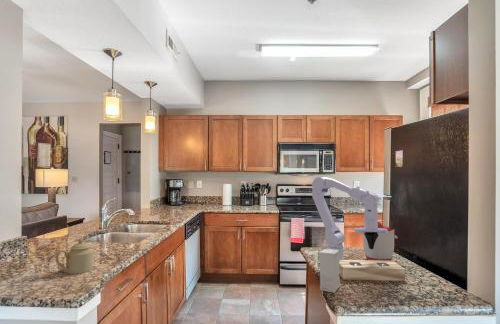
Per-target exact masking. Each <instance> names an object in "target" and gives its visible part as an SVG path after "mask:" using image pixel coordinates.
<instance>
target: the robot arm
mask: <svg viewBox="0 0 500 324" xmlns="http://www.w3.org/2000/svg"><path fill="white" fill-rule="evenodd" d="M311 187H312V191H311V197H312V199H313V200H312V201H314V205H315V206H316V208H317V211H318V214H319V216H320V218H321V221H322V224H323V226H324V228H325V231H324V235H325V242H326V244H327V248H326V249H334V250H339V260H344V245H343V243H344V242H345V240H346V239H345V237H346V236H345V235H344V233H343V232H341V229H340V228H339V226H337V225H336V222H335V220H334V217H333V216H332V213H331V210H330V209H329V205H328V204H327V201H326V199H325V197H324V196H325V194H326V192H327V191H328V190H329V189H331V188H334V189H336V190H339V191H341V192H344V193H347V195H348V196H349V198H351V199H354V200H356V201H357V202H361V203H363V205H364V210H363V211H364V214H363V215H364V219H363V220H364V225H363V226H364V228H362V227H354V233H356V234H363V233H364V235H365V237H366V239H367V242H368V246H369V249H373V248H374V244H375V241H376V239H377V238H378V234H377V233H388V229H383V228H378V222H379V221H378V219H379V218H378V204H379V199H380V198H379V196H378V195H377V194H376V193H375V192H370V190H365V189H362V188H361V187H360V186H359V185H355V186H349V185H347V184H345V183H344V182H343V183H342V182H340V181H338V180H336V179H334V178H332V177H329V176H323V177H322V176H317V177H315V178H314V179H313V181H312V183H311ZM368 231H369V232H368Z"/></svg>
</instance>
